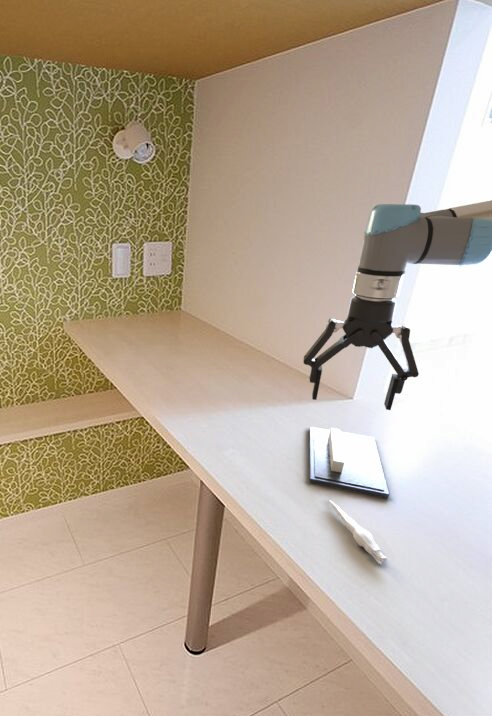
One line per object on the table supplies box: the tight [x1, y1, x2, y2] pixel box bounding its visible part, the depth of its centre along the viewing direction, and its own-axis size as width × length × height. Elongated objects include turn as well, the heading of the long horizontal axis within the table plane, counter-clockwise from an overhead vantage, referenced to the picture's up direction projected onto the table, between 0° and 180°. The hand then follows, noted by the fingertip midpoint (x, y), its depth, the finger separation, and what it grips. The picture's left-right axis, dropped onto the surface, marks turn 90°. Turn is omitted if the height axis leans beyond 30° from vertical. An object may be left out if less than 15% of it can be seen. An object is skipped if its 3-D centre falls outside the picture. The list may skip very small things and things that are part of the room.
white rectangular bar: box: [329, 427, 344, 473], centre depth 93 cm, size 2×16×2 cm, turn 160°
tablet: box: [308, 426, 390, 499], centre depth 93 cm, size 14×22×1 cm, turn 161°
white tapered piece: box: [328, 499, 388, 565], centre depth 73 cm, size 15×3×2 cm, turn 11°
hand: (349, 402), depth 88 cm, fingers open, 13 cm apart
